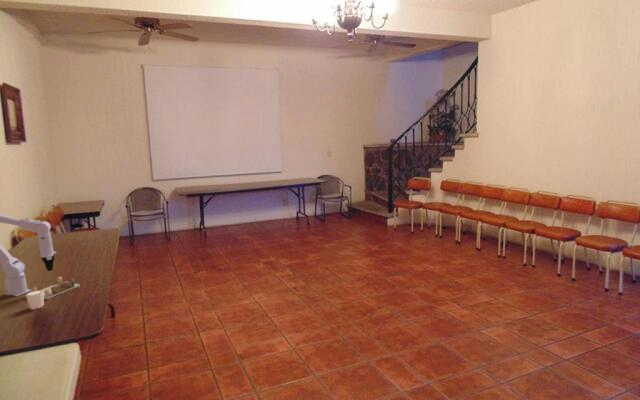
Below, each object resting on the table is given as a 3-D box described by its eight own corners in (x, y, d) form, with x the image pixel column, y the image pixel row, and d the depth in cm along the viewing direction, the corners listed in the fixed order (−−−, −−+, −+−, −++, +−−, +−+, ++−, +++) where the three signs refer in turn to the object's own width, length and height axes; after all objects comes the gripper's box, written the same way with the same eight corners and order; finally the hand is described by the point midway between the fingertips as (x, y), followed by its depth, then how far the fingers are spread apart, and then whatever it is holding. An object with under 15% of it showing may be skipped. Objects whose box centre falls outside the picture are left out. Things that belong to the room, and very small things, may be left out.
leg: (71, 284, 231) (71, 278, 231) (76, 284, 230) (75, 279, 230) (51, 293, 220) (50, 286, 219) (55, 293, 219) (54, 287, 219)
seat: (28, 297, 221) (26, 289, 220) (60, 284, 238) (59, 276, 237) (48, 299, 216) (46, 291, 215) (80, 286, 232) (79, 278, 232)
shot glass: (42, 302, 212) (39, 289, 211) (47, 305, 208) (45, 291, 207) (26, 307, 207) (23, 293, 206) (31, 311, 203) (28, 296, 201)
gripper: (56, 246, 224) (60, 271, 227) (52, 241, 236) (56, 265, 238) (40, 249, 220) (44, 275, 222) (37, 243, 232) (41, 268, 234)
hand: (50, 270), depth 230 cm, fingers closed
